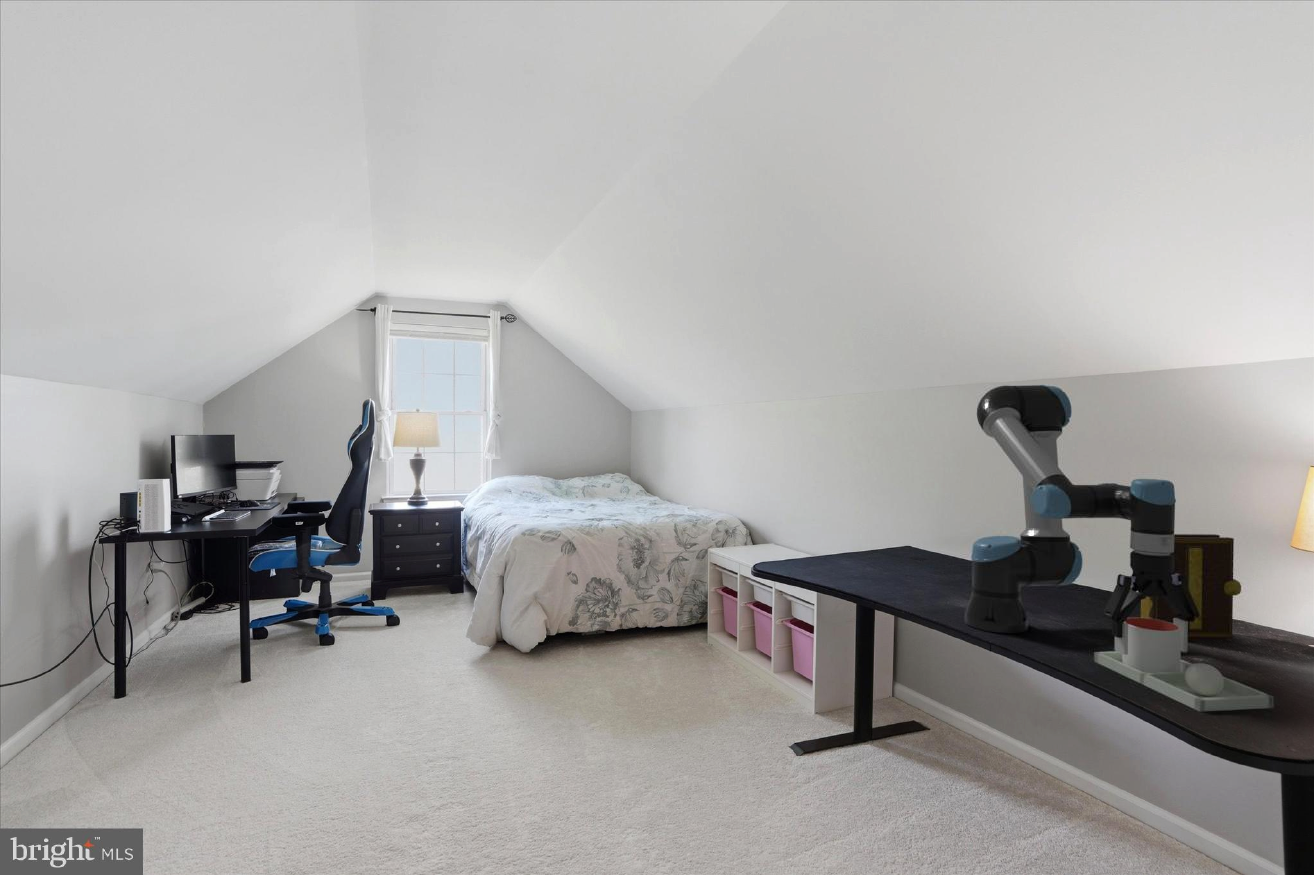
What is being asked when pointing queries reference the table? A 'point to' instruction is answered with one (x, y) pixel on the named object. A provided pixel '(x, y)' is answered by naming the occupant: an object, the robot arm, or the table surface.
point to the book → (1202, 584)
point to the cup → (1153, 645)
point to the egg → (1204, 679)
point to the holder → (1177, 688)
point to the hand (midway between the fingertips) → (1150, 651)
